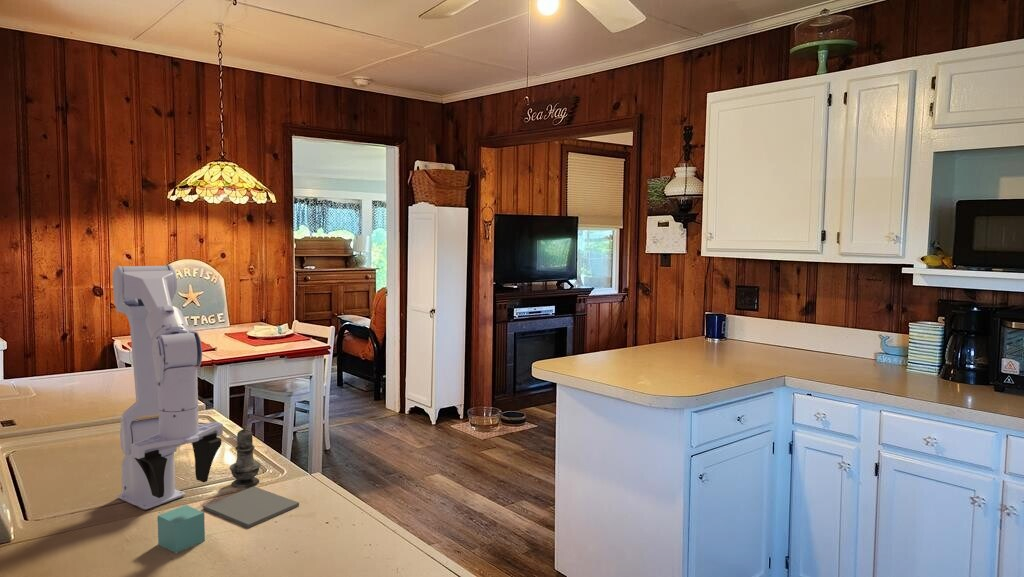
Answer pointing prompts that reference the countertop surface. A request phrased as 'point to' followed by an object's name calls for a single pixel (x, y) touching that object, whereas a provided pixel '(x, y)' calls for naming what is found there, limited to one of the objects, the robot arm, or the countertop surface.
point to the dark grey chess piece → (245, 461)
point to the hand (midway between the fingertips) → (180, 488)
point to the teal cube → (181, 528)
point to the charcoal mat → (251, 506)
